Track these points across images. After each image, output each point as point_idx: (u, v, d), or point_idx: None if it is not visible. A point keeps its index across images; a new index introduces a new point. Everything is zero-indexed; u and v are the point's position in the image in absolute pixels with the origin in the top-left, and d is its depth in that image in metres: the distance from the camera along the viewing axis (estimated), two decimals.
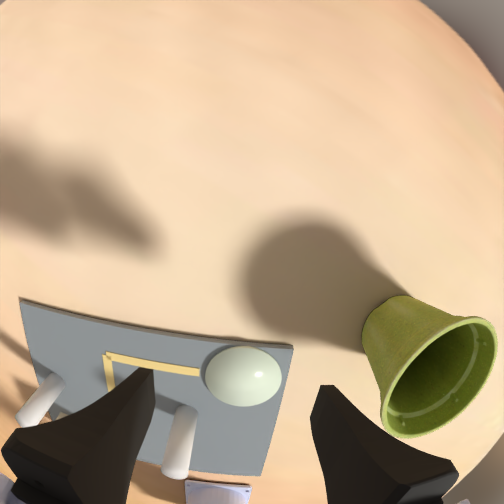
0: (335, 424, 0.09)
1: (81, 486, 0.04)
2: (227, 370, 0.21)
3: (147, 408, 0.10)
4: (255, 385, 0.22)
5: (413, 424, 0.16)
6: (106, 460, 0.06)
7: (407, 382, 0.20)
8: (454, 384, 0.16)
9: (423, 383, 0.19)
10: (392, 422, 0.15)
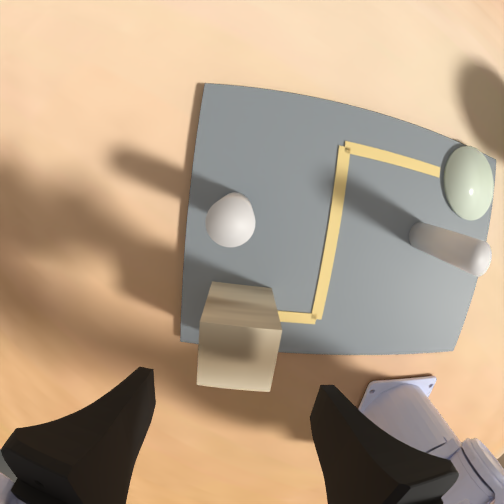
0: (335, 424, 0.09)
1: (81, 486, 0.04)
2: (462, 169, 0.18)
3: (147, 408, 0.10)
4: (479, 192, 0.18)
5: None
6: (106, 460, 0.06)
7: None
8: None
9: None
10: None
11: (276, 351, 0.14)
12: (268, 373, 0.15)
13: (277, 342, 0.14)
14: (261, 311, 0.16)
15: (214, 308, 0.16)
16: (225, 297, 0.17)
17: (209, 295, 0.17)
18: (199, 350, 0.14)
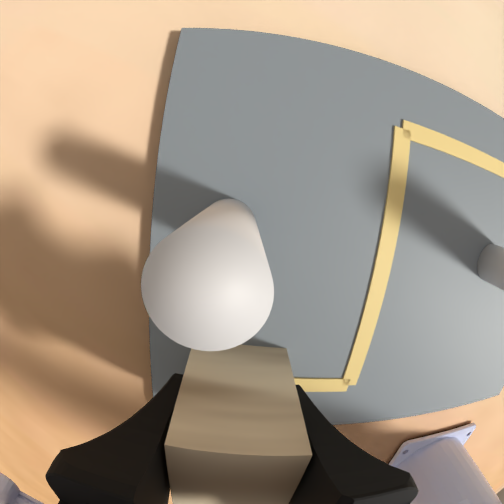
0: None
1: None
2: None
3: None
4: None
5: None
6: (157, 473, 0.06)
7: None
8: None
9: None
10: None
11: (299, 477, 0.07)
12: (283, 497, 0.07)
13: (302, 468, 0.07)
14: (274, 408, 0.09)
15: (192, 408, 0.08)
16: (212, 377, 0.10)
17: (186, 373, 0.10)
18: (170, 475, 0.07)
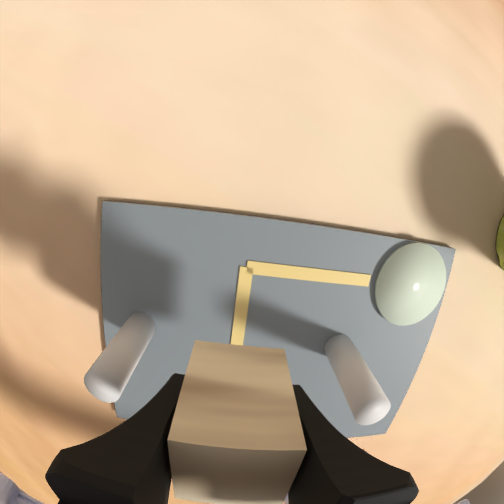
0: None
1: None
2: (401, 273, 0.18)
3: None
4: (423, 293, 0.18)
5: None
6: (156, 473, 0.06)
7: None
8: None
9: None
10: None
11: (294, 471, 0.07)
12: (280, 491, 0.08)
13: (297, 463, 0.07)
14: (271, 405, 0.09)
15: (194, 405, 0.09)
16: (212, 376, 0.10)
17: (188, 373, 0.10)
18: (172, 469, 0.07)
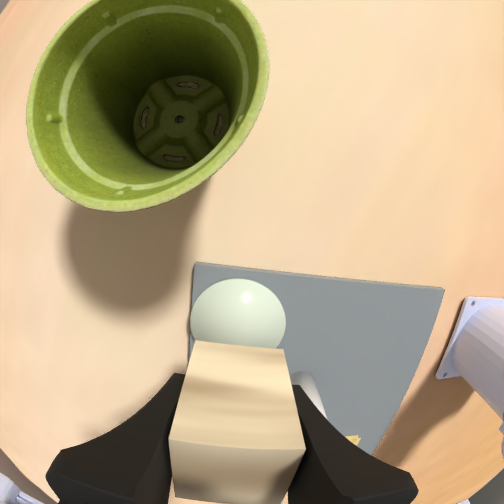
0: None
1: None
2: (223, 341, 0.18)
3: None
4: (247, 311, 0.18)
5: (250, 92, 0.09)
6: (157, 473, 0.06)
7: (233, 93, 0.13)
8: (203, 21, 0.09)
9: (228, 68, 0.12)
10: (217, 153, 0.09)
11: (294, 470, 0.07)
12: (279, 490, 0.08)
13: (296, 462, 0.07)
14: (271, 405, 0.09)
15: (195, 405, 0.09)
16: (212, 376, 0.10)
17: (188, 373, 0.10)
18: (173, 468, 0.07)
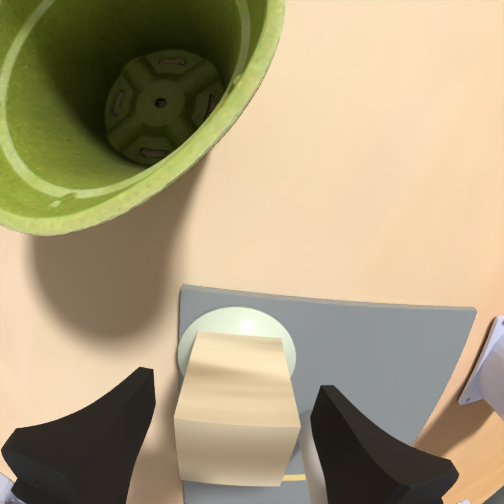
0: (335, 424, 0.09)
1: (81, 486, 0.04)
2: None
3: (147, 408, 0.10)
4: None
5: (253, 40, 0.05)
6: (106, 460, 0.06)
7: (229, 62, 0.09)
8: None
9: (221, 27, 0.08)
10: None
11: (291, 449, 0.08)
12: (278, 470, 0.09)
13: (293, 440, 0.08)
14: (268, 387, 0.10)
15: (198, 387, 0.10)
16: (214, 362, 0.11)
17: (192, 359, 0.11)
18: (178, 448, 0.08)
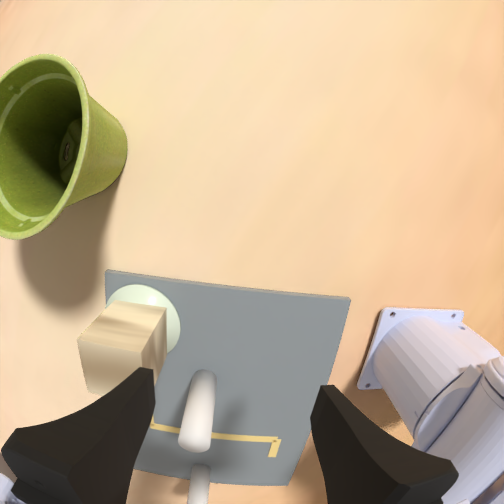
0: (335, 424, 0.09)
1: (81, 486, 0.04)
2: None
3: (147, 408, 0.10)
4: None
5: None
6: (106, 460, 0.06)
7: None
8: (72, 83, 0.11)
9: None
10: None
11: None
12: None
13: (139, 363, 0.14)
14: (136, 332, 0.16)
15: (97, 327, 0.16)
16: (114, 316, 0.17)
17: (102, 314, 0.17)
18: (82, 363, 0.14)
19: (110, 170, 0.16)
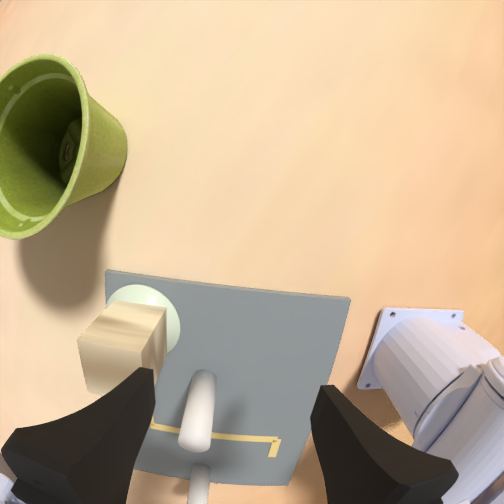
0: (335, 424, 0.09)
1: (81, 486, 0.04)
2: None
3: (147, 408, 0.10)
4: None
5: None
6: (106, 460, 0.06)
7: None
8: (72, 83, 0.11)
9: None
10: None
11: None
12: None
13: (139, 363, 0.14)
14: (136, 332, 0.16)
15: (97, 327, 0.16)
16: (114, 316, 0.17)
17: (102, 314, 0.17)
18: (82, 363, 0.14)
19: (110, 170, 0.16)
